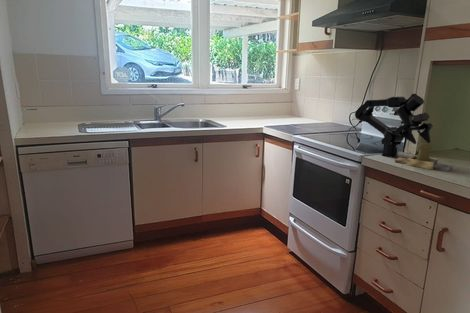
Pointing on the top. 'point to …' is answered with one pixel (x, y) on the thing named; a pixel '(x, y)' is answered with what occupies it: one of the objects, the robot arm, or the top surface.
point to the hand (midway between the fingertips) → (422, 143)
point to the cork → (424, 151)
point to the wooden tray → (423, 163)
